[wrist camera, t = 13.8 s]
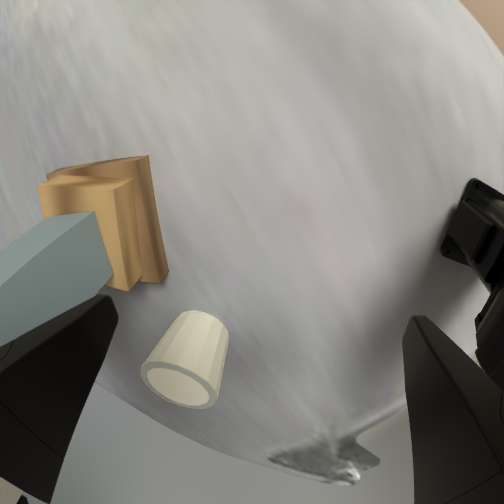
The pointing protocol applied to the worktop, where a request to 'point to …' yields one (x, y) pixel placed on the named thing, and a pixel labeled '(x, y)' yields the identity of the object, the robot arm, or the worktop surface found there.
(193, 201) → the worktop surface
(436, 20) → the worktop surface
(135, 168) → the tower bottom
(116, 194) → the tower top
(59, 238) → the tall block
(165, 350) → the shot glass
